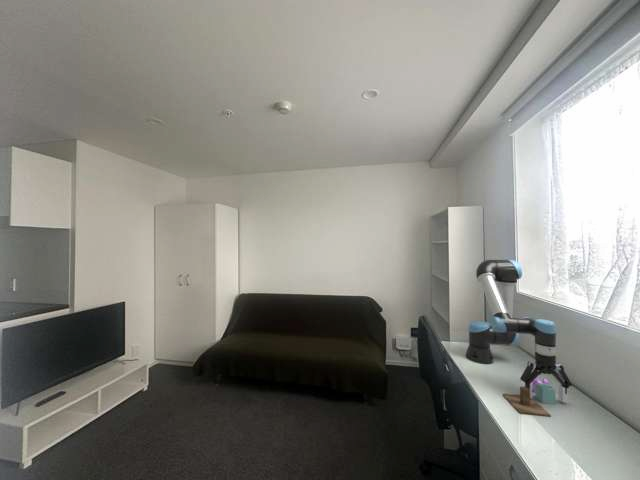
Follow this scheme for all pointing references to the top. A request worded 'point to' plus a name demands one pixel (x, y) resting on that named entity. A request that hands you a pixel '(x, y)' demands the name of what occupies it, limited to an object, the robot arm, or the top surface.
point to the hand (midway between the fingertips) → (545, 398)
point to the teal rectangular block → (545, 393)
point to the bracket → (538, 382)
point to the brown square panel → (526, 403)
